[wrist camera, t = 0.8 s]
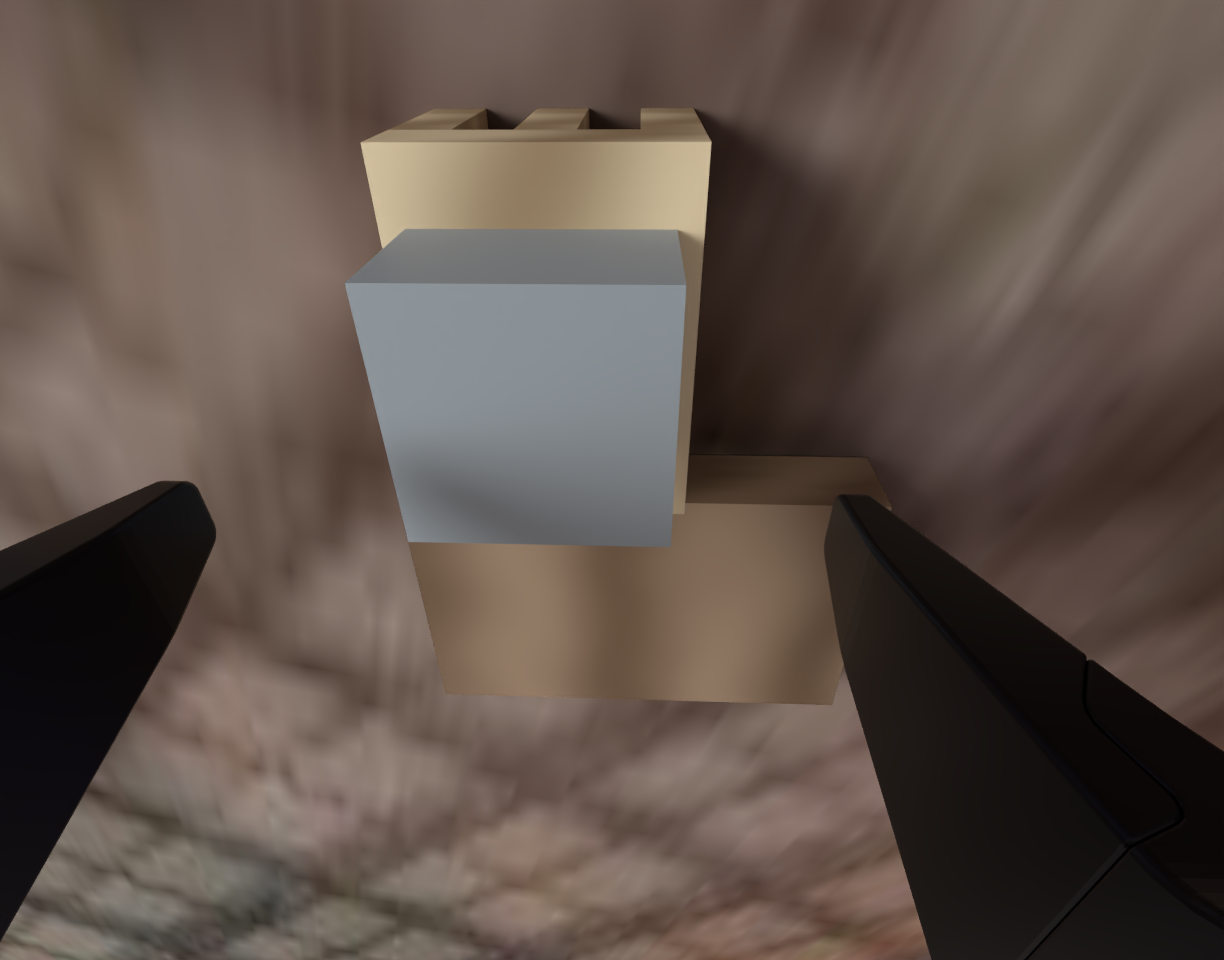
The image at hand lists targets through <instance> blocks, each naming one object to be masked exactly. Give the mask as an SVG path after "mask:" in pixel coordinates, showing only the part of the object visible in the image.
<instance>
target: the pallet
mask: <svg viewBox="0 0 1224 960" xmlns="http://www.w3.org/2000/svg"><path fill="white" fill-rule="evenodd" d="M361 147H362V152H363V157H364V161H365V166H366V171H367V176H368V181H369V186H370V191H371V195H372V200H373V205H374V210H375V215H376V220H377V224H378V229H379V234H380V239H381V244H382V249H383V248H384V247H385V246H386V245H388V244H389V243H390V242H391V241H392V240H393V239H394V238H395V237H397V236H398V235H399V234H400V233H401V232H402V231H403V230H404V229H658V230H678V236H679V242H680V249H681V255H682V261H683V267H684V273H685V279H686V300H685V317H684V334H683V351H682V367H681V384H680V401H679V418H678V434H677V451H676V468H675V484H674V501H673V514H684V512H685V499H686V485H687V471H688V457H689V444H690V430H691V416H692V403H693V389H694V375H695V361H696V348H697V334H698V320H699V307H700V293H701V279H702V265H703V252H704V238H705V224H706V211H707V197H708V183H709V169H710V156H711V140H710V138H709V136H708V134H707V133H706V131H705V129H704V127H703V125H702V123H701V122H700V120H699V118H698V116H697V114H696V112H695V110H694V109H693V108H641V129H590V126H589V108H537V109H536V110H535V111H534V112H533V113H532V114H531V115H529V116H528V117H527V118H526V119H525V120H524V121H523V122H522V123H520V124H519V125H518V126H517V127H516V128H515V129H514V130H488V121H487V112H486V109H434V110H431V111H429V112H427V113H425V114H422V115H420V116H418V117H416V118H414V119H411V120H409V121H407V122H405V123H403V124H400V125H398V126H396V127H394V128H391V129H389V130H387V131H385V132H383V133H380V134H378V135H376V136H374V137H372V138H369V139H367V140H365V141H363V142H361Z"/></svg>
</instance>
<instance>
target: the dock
mask: <svg viewBox="0 0 1224 960" xmlns="http://www.w3.org/2000/svg"><path fill="white" fill-rule="evenodd" d="M840 494H865V495H869V496H871V497H872V498H874V499H875V500H876V501H878V502H879V503H880V504H882V505H883V506H885V507H886V508H887V509H889V510H890V511H891V509H892V506H891V504H890V502H889V500H888V498H887V496H886V494H885V492H884V490H883V488H882V486H881V484H880V482H879V480H878V478H877V476H876V474H875V472H874V470H873V468H872V466H871V464H870V462H869V460H868V458H867V457H802V456H736V455H689V457H688V471H687V485H686V499H685V512H684V514H673V518H672V535H671V547H634V546H585V545H535V544H486V543H436V542H408V543H409V547H410V551H411V555H412V559H413V563H414V567H415V571H416V575H417V579H418V583H419V587H420V591H421V595H422V599H423V603H424V607H425V612H426V616H427V620H428V624H429V628H430V632H431V636H432V640H433V644H434V648H435V652H436V656H437V660H438V664H439V668H440V672H441V676H442V680H443V684H444V688H445V693H446V694H466V695H501V696H536V697H571V698H606V699H641V700H677V701H712V702H747V703H782V704H817V705H832V702H833V699H834V696H835V692H836V689H837V686H838V683H839V679H840V676H841V673H842V669H843V666H844V663H843V660H842V656H841V652H840V647H839V641H838V636H837V630H836V624H835V618H834V612H833V606H832V600H831V594H830V588H829V582H828V576H827V570H826V564H825V558H824V541H825V536H826V532H827V528H828V524H829V519H830V515H831V511H832V507H833V503H834V501H835V499H836V497H837V496H839V495H840ZM398 502H399V501H398ZM399 506H400V505H399ZM400 510H401V509H400ZM401 514H402V513H401ZM405 531H406V530H405ZM406 535H407V534H406ZM407 539H408V538H407Z"/></svg>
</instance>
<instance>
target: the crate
mask: <svg viewBox="0 0 1224 960" xmlns="http://www.w3.org/2000/svg"><path fill="white" fill-rule="evenodd" d="M345 286H346V290H347V294H348V298H349V302H350V307H351V311H352V315H353V319H354V323H355V327H356V331H357V335H358V339H359V343H360V347H361V351H362V355H363V359H364V363H365V367H366V371H367V376H368V380H369V384H370V388H371V392H372V396H373V400H374V404H375V408H376V412H377V416H378V420H379V424H380V428H381V432H382V436H383V440H384V445H385V449H386V453H387V457H388V461H389V465H390V469H391V473H392V477H393V481H394V485H395V489H396V493H397V497H398V501H399V505H400V509H401V513H402V518H403V522H404V526H405V530H406V534H407V538H408V542H436V543H486V544H535V545H585V546H634V547H671V535H672V518H673V501H674V484H675V468H676V451H677V434H678V418H679V401H680V384H681V367H682V351H683V334H684V317H685V300H686V279H685V273H684V267H683V261H682V255H681V249H680V242H679V236H678V230H658V229H404V230H403V231H402V232H401V233H400V234H399V235H398V236H397V237H395V238H394V239H393V240H392V241H391V242H390V243H389V244H388V245H386V246H385V247H384V248H383V249H382V250H381V251H380V252H379V253H378V254H376V255H375V256H374V257H373V258H372V259H371V260H370V261H369V262H368V263H366V264H365V265H364V266H363V267H362V268H361V269H360V270H359V271H358V272H356V273H355V274H354V275H353V276H352V277H351V278H350V279H349V280H348V281H346V282H345Z"/></svg>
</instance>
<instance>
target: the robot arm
mask: <svg viewBox="0 0 1224 960" xmlns="http://www.w3.org/2000/svg"><path fill="white" fill-rule="evenodd" d="M215 539H216V528H215V524H214V522H213V520H212V518H211V516H210V513H209V511H208V509H207V507H206V505H205V503H204V500H203V498H202V496H201V494H200V492H199V490H198V488H197V487H196V486H195V485H194V484H193V483H190V482H188V481H159V482H156V483H154V484H151V485H149V486H147V487H144V488H142V489H140V490H138V491H135V492H133V493H131V494H128V495H126V496H124V497H122V498H119V499H117V500H115V501H113V502H110V503H108V504H106V505H103V506H101V507H99V508H97V509H94V510H92V511H90V512H87V513H85V514H83V515H81V516H78V517H76V518H74V519H72V520H69V521H67V522H65V523H62V524H60V525H58V526H56V527H53V528H51V529H49V530H46V531H44V532H42V533H40V534H37V535H35V536H33V537H30V538H28V539H26V540H24V541H21V542H19V543H17V544H15V545H12V546H10V547H8V548H5V549H3V550H1V551H0V942H1V940H2V938H3V936H4V934H5V933H6V931H7V929H8V927H9V926H10V924H11V922H12V920H13V919H14V917H15V915H16V913H17V912H18V910H19V908H20V906H21V905H22V903H23V901H24V899H25V898H26V896H27V894H28V892H29V890H30V889H31V887H32V885H33V883H34V882H35V880H36V878H37V876H38V875H39V873H40V871H41V869H42V868H43V866H44V864H45V862H46V861H47V859H48V857H49V855H50V853H51V852H52V850H53V848H54V846H55V845H56V843H57V841H58V839H59V838H60V836H61V834H62V832H63V831H64V829H65V827H66V825H67V824H68V822H69V820H70V818H71V817H72V815H73V813H74V811H75V809H76V808H77V806H78V804H79V802H80V801H81V799H82V797H83V795H84V794H85V792H86V790H87V788H88V787H89V785H90V783H91V781H92V780H93V778H94V776H95V774H96V773H97V771H98V769H99V767H100V765H101V764H102V762H103V760H104V758H105V757H106V755H107V753H108V751H109V750H110V748H111V746H112V744H113V743H114V741H115V739H116V737H117V736H118V734H119V732H120V730H121V728H122V727H123V725H124V723H125V721H126V720H127V718H128V716H129V714H130V713H131V711H132V709H133V707H134V706H135V704H136V702H137V700H138V699H139V697H140V695H141V693H142V692H143V690H144V688H145V686H146V684H147V683H148V681H149V679H150V677H151V676H152V674H153V672H154V670H155V669H156V667H157V665H158V663H159V662H160V660H161V658H162V656H163V655H164V653H165V651H166V649H167V647H168V646H169V644H170V642H171V640H172V638H173V636H174V634H175V632H176V630H177V628H178V626H179V624H180V622H181V619H182V617H183V615H184V613H185V610H186V608H187V606H188V603H189V601H190V599H191V597H192V594H193V592H194V590H195V587H196V585H197V583H198V580H199V578H200V576H201V574H202V571H203V569H204V567H205V564H206V562H207V560H208V557H209V555H210V553H211V551H212V548H213V546H214V543H215ZM824 558H825V564H826V570H827V576H828V582H829V588H830V594H831V600H832V606H833V612H834V618H835V624H836V630H837V636H838V641H839V647H840V652H841V656H842V660H843V663H844V667H845V671H846V674H847V677H848V681H849V684H850V687H851V691H852V694H853V697H854V701H855V704H856V708H857V711H858V714H859V718H860V721H861V724H862V728H863V731H864V734H865V738H866V741H867V745H868V748H869V751H870V755H871V758H872V761H873V765H874V768H875V771H876V775H877V778H878V781H879V785H880V788H881V792H882V795H883V798H884V802H885V805H886V808H887V812H888V815H889V818H890V822H891V825H892V829H893V832H894V835H895V839H896V842H897V845H898V849H899V852H900V855H901V859H902V862H903V865H904V869H905V872H906V876H907V879H908V882H909V886H910V889H911V892H912V896H913V899H914V902H915V906H916V909H917V913H918V916H919V919H920V923H921V926H922V929H923V933H924V936H925V939H926V943H927V946H928V949H929V953H930V956H931V960H1224V751H1222V750H1221V749H1219V748H1218V747H1216V746H1215V745H1213V744H1212V743H1210V742H1209V741H1207V740H1206V739H1204V738H1203V737H1201V736H1200V735H1198V734H1197V733H1195V732H1194V731H1192V730H1191V729H1189V728H1188V727H1186V726H1185V725H1183V724H1182V723H1180V722H1179V721H1177V720H1176V719H1174V718H1173V717H1171V716H1170V715H1168V714H1167V713H1166V712H1164V711H1163V710H1161V709H1160V708H1159V707H1157V706H1156V705H1154V704H1153V703H1152V702H1150V701H1149V700H1147V699H1146V698H1144V697H1143V696H1142V695H1140V694H1139V693H1137V692H1136V691H1135V690H1133V689H1132V688H1130V687H1129V686H1128V685H1126V684H1125V683H1123V682H1122V681H1121V680H1119V679H1118V678H1117V677H1115V676H1114V675H1113V674H1111V673H1110V672H1108V671H1107V670H1106V669H1104V668H1103V667H1102V666H1100V665H1099V664H1098V663H1096V662H1095V661H1093V660H1087V657H1086V655H1085V654H1084V653H1082V652H1081V651H1080V650H1078V649H1077V648H1076V647H1074V646H1073V645H1072V644H1070V643H1069V642H1067V641H1066V640H1065V639H1063V638H1062V637H1061V636H1059V635H1058V634H1057V633H1055V632H1054V631H1053V630H1051V629H1050V628H1049V627H1047V626H1046V625H1044V624H1043V623H1042V622H1040V621H1039V620H1038V619H1036V618H1035V617H1034V616H1032V615H1031V614H1030V613H1028V612H1027V611H1025V610H1024V609H1023V608H1021V607H1020V606H1019V605H1017V604H1016V603H1015V602H1013V601H1012V600H1011V599H1009V598H1008V597H1007V596H1005V595H1004V594H1002V593H1001V592H1000V591H998V590H997V589H996V588H994V587H993V586H992V585H990V584H989V583H988V582H986V581H985V580H983V579H982V578H981V577H979V576H978V575H977V574H975V573H974V572H973V571H971V570H970V569H969V568H967V567H966V566H964V565H963V564H962V563H960V562H959V561H958V560H956V559H955V558H954V557H952V556H951V555H950V554H948V553H947V552H946V551H944V550H943V549H941V548H940V547H939V546H937V545H936V544H935V543H933V542H932V541H931V540H929V539H928V538H927V537H925V536H924V535H922V534H921V533H920V532H918V531H917V530H916V529H914V528H913V527H912V526H910V525H909V524H908V523H906V522H905V521H904V520H902V519H901V518H899V517H898V516H897V515H895V514H894V513H893V512H891V511H890V510H889V509H887V508H886V507H885V506H883V505H882V504H880V503H879V502H878V501H876V500H875V499H874V498H872V497H871V496H869V495H865V494H840V495H839V496H837V497H836V499H835V501H834V503H833V507H832V511H831V515H830V519H829V524H828V528H827V532H826V536H825V541H824Z"/></svg>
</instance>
